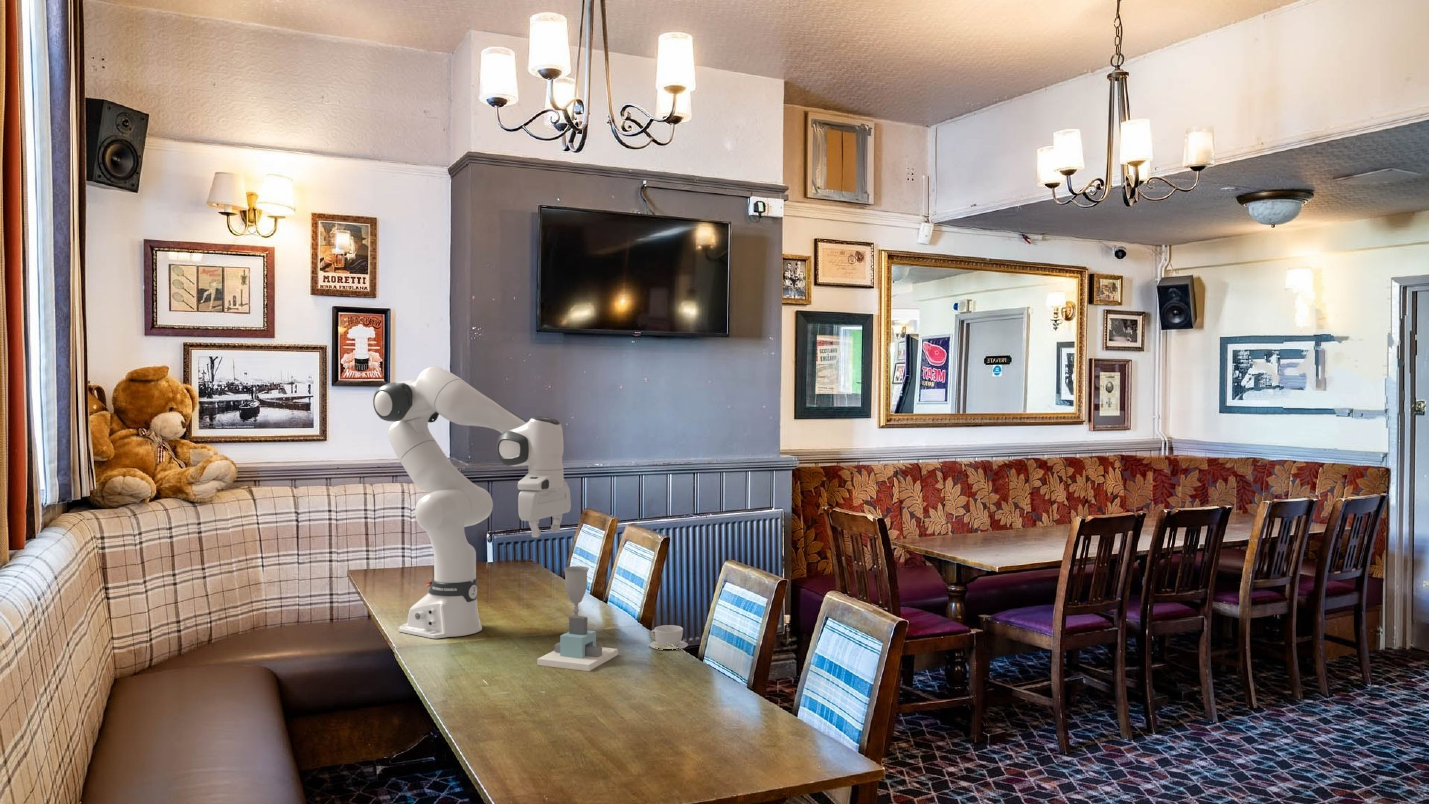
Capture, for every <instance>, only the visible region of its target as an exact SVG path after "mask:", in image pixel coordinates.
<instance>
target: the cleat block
mask: <svg viewBox="0 0 1429 804" xmlns="http://www.w3.org/2000/svg"><path fill="white" fill-rule="evenodd" d="M568 631H569V632H568ZM568 631H567V632H564V633H562V634H561V635H560V636H559V640H560V641H559V642H560V656H563V657H572V658H580V659H583V658H584V657H585V645H588V646H597V631H596V630H588V616H581V615H578V616H574V615H571V616H569V617H568Z"/></svg>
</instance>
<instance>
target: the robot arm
mask: <svg viewBox="0 0 1429 804" xmlns="http://www.w3.org/2000/svg"><path fill="white" fill-rule="evenodd" d="M372 401H373V402H372V403H373V408H374V412H375V414H376V415H377V417H379V419H381V420H383V421H386V422H392V424H391V425H390V427H389V429H388V432H387V433H388V435H387V436H388V439H389V442H390V444H391V446H392V448H393V450H394V451H393V452H394V453H395V455H396V457H397V458H398V461H399V462H400V464H401V465H402V467H403V469H404V470H405V471H406V473H407V475H408V476H409V478H410V479H411V481H412V483H413V484H414V485H415V487H417V488H419V489H421V490H424V491H425V492H427V493H428V494H425V495H424V496H422V497H421V498H419V499H418V500H417V502H416V506H415V508H414V517H415V520H416V522H417V524H418V525H419V527H421V529H423V530H424V531H425V533H426V534H427V536H428V538H429V540H430V544H431V546H432V553H433V571H434V572H433V574H434V575H433V579H432V580H430V581H428V582H425V588H429V590H428V593H426V594H425V595H424V596H423V597H421V598H420V599H419V600H417V602H416V603H414V604H413V605H412V606H411V607H410V608H409V611H408V613H407V614H408V615H407V622H406V623H403V624H401V625H400V626H398V632H400V633H404V634H409V635H414V636H419V637H424V638H429V639H434V640H435V639H441V638H442V639H443V638H449V637H451V638H452V637H453V638H454V637H462V636H468V635H472V634H476V633H479V632H481V631H482V630H483V626H482V623H481V621H480V620H481V619H480V614H479V610H478V607H479V606H478V599H477V598H478V591H479V586H478V577H477V552H476V548H475V547H474V546H473V545H472V544H470V543H469V542H468V539H467V537H466V532H465V528H466V527H471V526H475V525H477V524H479V523H482V522H483V521H484V520H487V518H489V517H490V516H491V514H492V512H493V508H494V502H493V499H492V496H491V494H490V492H488V490H486V489H485V488H483V487H480V486H478V485H477V484H475V483H474V482H473V481H470V479H469V478H467V477H466V476H465V475H464V474H463V473H462V472H461V471H459V470H458V469H457V468H456V466H454V464H453V463H452V462H451V461H450V460H449V459H448V457H447V455H446V454H445V452H444V451H443V450H442V448H441V446H440V445H439V443H438V442H437V440H436V439H435V437H434V436H433V435H432V433H431V431H430V430H429V423H430V424H431V423H435V422H437V419H438V417H439V415H440V416H441V417H442V418H444V419H445V420H447V421H449V422H452V423H453V424H456V425H459V426H469V427H470V426H471V427H482V428H487V429H488V428H489V429H491V430H495V431H498V432H499V433H500V435H499V437H498V438H497V441H496V444H495V450H496V451H495V452H496V456H497V458H498V459H499V461H500V463H502V464H503V465H505V466H509V467H525V466H528V473H527V474H526V475H525V476H524V477H522V478H521V479H519V481H518V482H517V489H518V490H519V492H518V493H519V494H518V497H517V498H518V500H517V502H518V504H517V505H518V516H519V517H518V518H519V519H520V521H523V522H528V525H529V527H530V530H531V538H540V537H541V532H542V530H541V529H539V524H540V520H541V519H546V518H550V517H552V518H553V520H552V524H551V525H550V531H551V532H552V533H558V532H560V529H561V528H560V527H561V523H562V519H563V514H567V513H570V511H571V508H572V502H571V501H572V500H571V490H570V486H569V485H568V482H567V480H566V479H565V478H564V464H563V455H564V433H563V427H562V424H561V422H560V421H559V420H557V419H556V418H553V417H548V416H542V415H541V416H538V415H537V416H534V417H531V418H530V419H529V421H527V420H526V419H523V417H521V416H519V415H517V414H516V413H514V412H513V411H511V410H509V408H506V407H504V406H502V405H501V404H499V403H497V402H496V401H494V400H492V399H491V398H489V397H488V396H486V395H485V394H483V393H482V392H481V391H479V390H478V389H476V388H474V386H471V385H470V384H469V383H468V382H466V381H465V380H463V379H462V378H461V377H459V376H457V375H456V374H454V373H452V372H451V371H448V370H447V369H444V368H442V367H440V366H439V367H438V366H429V367H427V368H425V369H423V371H421V372H420V373H419V375H417V378H413V379H406V380H403V381H397V382H389V383H386V384H383V385H382V386H380V387H378V388H377V389H376V390H375V393H374V395H373V399H372Z"/></svg>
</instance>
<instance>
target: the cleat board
mask: <svg viewBox="0 0 1429 804" xmlns="http://www.w3.org/2000/svg"><path fill="white" fill-rule="evenodd" d="M618 655H619V651H618V648H614V647H613V648H611V647H605V646H604V647H603V646H597V645H596V646H588V645H585V657H584V658H583V659H580V658H572V657H563V656H560V641H559V642H557V643H555V644H554V650H552V651H550V652H549V653H546V654H545V655H542V656H540V657H538V658H537V659H536V662H537V664H536V665H537V666H543V667H551V668H559V669H568V670H575V671H584V672H590V671H592V670H594V669H596V668H597V667H600V666H602V665H603V664H604V663H606V662H608V661H610V660H611V659H614V658H615V657H617V656H618Z"/></svg>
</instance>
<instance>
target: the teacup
mask: <svg viewBox="0 0 1429 804" xmlns="http://www.w3.org/2000/svg"><path fill="white" fill-rule="evenodd" d="M683 633H684V628H683V627H682V626H680V625H672V624H669V625H667V624H666V625H659V626H656V627H654V629H652V630H651V631H650V637H651V638H652V639H653V640H655V641H652V642H650V643H649V647H650V648H652V649H655V650H661V651H662V650H663V649H658V648H655V647H658V646H655V644H657V642H658V643H659V645H660V646H664V647H667V645H668V646H671V647H673V646H672V645H671V644H673V645H674V646H676V647H678V648H679V649H678V650H681V649H684V648H686V647H688V646H689V644H688V642H686V641H684V640H682V638H683ZM667 642H668V643H667ZM669 643H670V644H669ZM663 651H664V650H663ZM671 651H673V649H672V650H671Z"/></svg>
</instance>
